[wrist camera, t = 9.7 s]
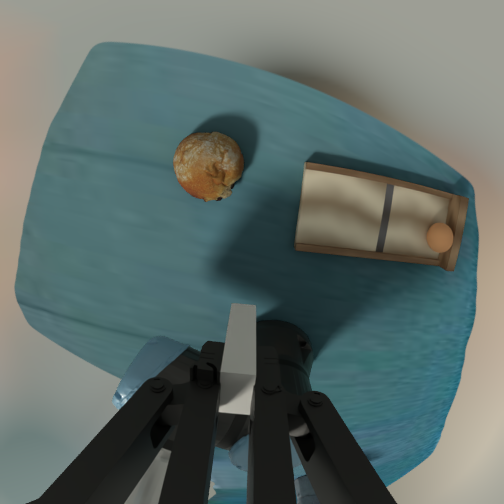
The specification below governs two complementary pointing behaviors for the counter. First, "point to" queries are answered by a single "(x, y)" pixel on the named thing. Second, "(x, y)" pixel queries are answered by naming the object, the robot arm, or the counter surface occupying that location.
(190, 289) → the counter surface
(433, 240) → the ball
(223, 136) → the bread roll
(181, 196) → the counter surface
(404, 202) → the lane
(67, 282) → the counter surface
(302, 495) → the moka pot
